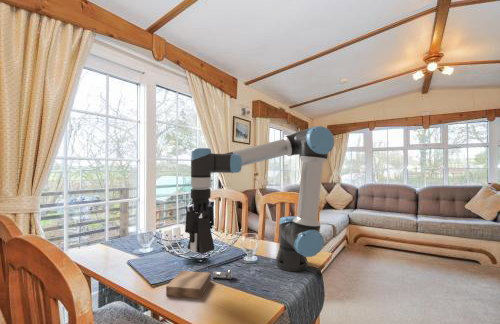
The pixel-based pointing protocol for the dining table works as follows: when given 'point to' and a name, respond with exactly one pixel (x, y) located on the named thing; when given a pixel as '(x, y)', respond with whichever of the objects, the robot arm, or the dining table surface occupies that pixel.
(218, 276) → the loose bolt
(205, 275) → the brown flat block
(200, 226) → the phone stand
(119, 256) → the dining table surface
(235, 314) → the dining table surface
